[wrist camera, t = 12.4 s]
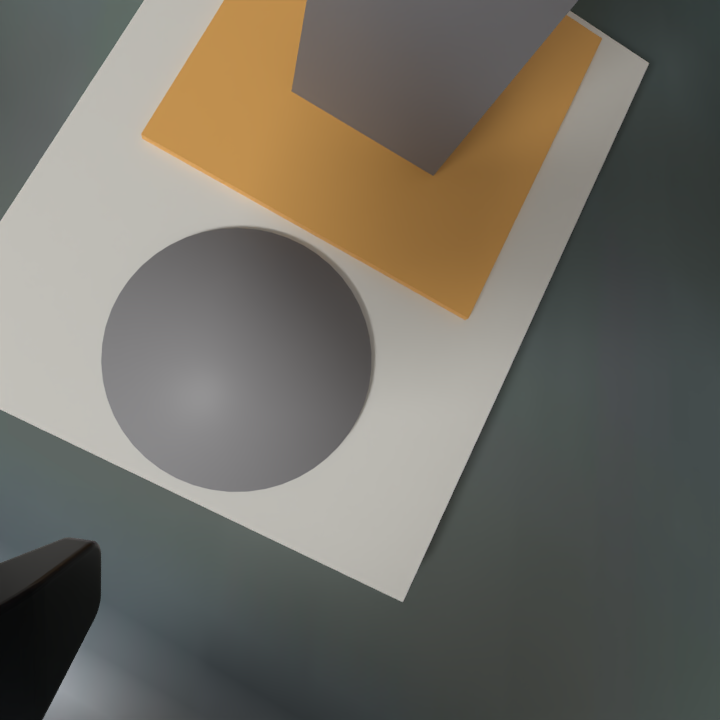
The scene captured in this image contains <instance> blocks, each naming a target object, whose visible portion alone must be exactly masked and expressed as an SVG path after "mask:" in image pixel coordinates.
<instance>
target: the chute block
mask: <svg viewBox="0 0 720 720" xmlns="http://www.w3.org/2000/svg"><path fill="white" fill-rule="evenodd" d="M577 1H578V0H307V2H306V8H305V13H304V19H303V25H302V31H301V37H300V43H299V49H298V55H297V61H296V67H295V73H294V79H293V84H292V90H291V91H292V92H293V93H295V94H297V95H298V96H300V97H302V98H303V99H305V100H307V101H308V102H310V103H312V104H313V105H315V106H317V107H319V108H320V109H322V110H324V111H325V112H327V113H329V114H330V115H332V116H334V117H335V118H337V119H339V120H340V121H342V122H344V123H345V124H347V125H349V126H350V127H352V128H354V129H355V130H357V131H359V132H360V133H362V134H364V135H365V136H367V137H369V138H370V139H372V140H374V141H375V142H377V143H379V144H380V145H382V146H384V147H385V148H387V149H389V150H391V151H392V152H394V153H396V154H397V155H399V156H401V157H402V158H404V159H406V160H407V161H409V162H411V163H412V164H414V165H416V166H417V167H419V168H421V169H422V170H424V171H426V172H427V173H429V174H431V175H432V176H434V175H435V173H436V172H437V171H438V170H439V168H440V167H441V166H442V165H443V164H444V162H445V161H446V160H447V159H448V158H449V156H450V155H451V154H452V153H453V151H454V150H455V149H456V148H457V147H458V145H459V144H460V143H461V142H462V141H463V139H464V138H465V137H466V136H467V135H468V133H469V132H470V131H471V130H472V128H473V127H474V126H475V125H476V124H477V122H478V121H479V120H480V119H481V118H482V116H483V115H484V114H485V113H486V111H487V110H488V109H489V108H490V107H491V105H492V104H493V103H494V102H495V101H496V99H497V98H498V97H499V96H500V95H501V93H502V92H503V91H504V90H505V88H506V87H507V86H508V85H509V84H510V82H511V81H512V80H513V79H514V78H515V76H516V75H517V74H518V73H519V72H520V70H521V69H522V68H523V67H524V65H525V64H526V63H527V62H528V61H529V59H530V58H531V57H532V56H533V55H534V53H535V52H536V51H537V50H538V48H539V47H540V46H541V45H542V44H543V42H544V41H545V40H546V39H547V38H548V36H549V35H550V34H551V33H552V32H553V30H554V29H555V28H556V27H557V25H558V24H559V23H560V22H561V21H562V19H563V18H564V17H565V16H566V15H567V13H568V12H569V11H570V10H571V8H572V7H573V6H574V5H575V4H576V2H577Z"/></svg>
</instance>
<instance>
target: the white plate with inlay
mask: <svg viewBox="0 0 720 720" xmlns="http://www.w3.org/2000/svg"><path fill="white" fill-rule="evenodd" d="M306 2H307V0H144V1H143V3H142V5H141V6H140V8H139V9H138V11H137V12H136V14H135V15H134V17H133V18H132V20H131V21H130V23H129V25H128V26H127V28H126V29H125V31H124V32H123V34H122V35H121V37H120V38H119V40H118V41H117V43H116V45H115V46H114V48H113V49H112V51H111V52H110V54H109V55H108V57H107V58H106V60H105V61H104V63H103V65H102V66H101V68H100V69H99V71H98V72H97V74H96V75H95V77H94V78H93V80H92V81H91V83H90V85H89V86H88V88H87V89H86V91H85V92H84V94H83V95H82V97H81V98H80V100H79V101H78V103H77V105H76V106H75V108H74V109H73V111H72V112H71V114H70V115H69V117H68V118H67V120H66V121H65V123H64V125H63V126H62V128H61V129H60V131H59V132H58V134H57V135H56V137H55V138H54V140H53V141H52V143H51V145H50V146H49V148H48V149H47V151H46V152H45V154H44V155H43V157H42V158H41V160H40V161H39V163H38V165H37V166H36V168H35V169H34V171H33V172H32V174H31V175H30V177H29V178H28V180H27V181H26V183H25V185H24V186H23V188H22V189H21V191H20V192H19V194H18V195H17V197H16V198H15V200H14V201H13V203H12V205H11V206H10V208H9V209H8V211H7V212H6V214H5V215H4V217H3V218H2V220H1V221H0V410H3V411H5V412H7V413H9V414H11V415H13V416H15V417H17V418H19V419H21V420H23V421H26V422H28V423H30V424H32V425H34V426H36V427H38V428H40V429H42V430H44V431H46V432H49V433H51V434H53V435H55V436H57V437H59V438H61V439H63V440H65V441H67V442H69V443H71V444H74V445H76V446H78V447H80V448H82V449H84V450H86V451H88V452H90V453H92V454H94V455H97V456H99V457H101V458H103V459H105V460H107V461H109V462H111V463H113V464H115V465H117V466H119V467H122V468H124V469H126V470H128V471H130V472H132V473H134V474H136V475H138V476H140V477H142V478H145V479H147V480H149V481H151V482H153V483H155V484H157V485H159V486H161V487H163V488H165V489H168V490H170V491H172V492H174V493H176V494H178V495H180V496H182V497H184V498H186V499H188V500H190V501H193V502H195V503H197V504H199V505H201V506H203V507H205V508H207V509H209V510H211V511H213V512H216V513H218V514H220V515H222V516H224V517H226V518H228V519H230V520H232V521H234V522H236V523H238V524H241V525H243V526H245V527H247V528H249V529H251V530H253V531H255V532H257V533H259V534H261V535H264V536H266V537H268V538H270V539H272V540H274V541H276V542H278V543H280V544H282V545H284V546H287V547H289V548H291V549H293V550H295V551H297V552H299V553H301V554H303V555H305V556H307V557H309V558H312V559H314V560H316V561H318V562H320V563H322V564H324V565H326V566H328V567H330V568H332V569H335V570H337V571H339V572H341V573H343V574H345V575H347V576H349V577H351V578H353V579H355V580H358V581H360V582H362V583H364V584H366V585H368V586H370V587H372V588H374V589H376V590H378V591H380V592H383V593H385V594H387V595H389V596H391V597H393V598H395V599H397V600H399V601H401V602H403V601H404V598H405V596H406V594H407V592H408V590H409V587H410V585H411V583H412V581H413V579H414V577H415V574H416V572H417V570H418V568H419V566H420V563H421V561H422V559H423V557H424V555H425V552H426V550H427V548H428V546H429V544H430V542H431V539H432V537H433V535H434V533H435V531H436V528H437V526H438V524H439V522H440V520H441V517H442V515H443V513H444V511H445V509H446V507H447V504H448V502H449V500H450V498H451V496H452V493H453V491H454V489H455V487H456V485H457V482H458V480H459V478H460V476H461V474H462V472H463V469H464V467H465V465H466V463H467V461H468V458H469V456H470V454H471V452H472V450H473V447H474V445H475V443H476V441H477V439H478V437H479V434H480V432H481V430H482V428H483V426H484V423H485V421H486V419H487V417H488V415H489V412H490V410H491V408H492V406H493V404H494V402H495V399H496V397H497V395H498V393H499V391H500V388H501V386H502V384H503V382H504V380H505V377H506V375H507V373H508V371H509V369H510V367H511V364H512V362H513V360H514V358H515V356H516V353H517V351H518V349H519V347H520V345H521V342H522V340H523V338H524V336H525V334H526V332H527V329H528V327H529V325H530V323H531V321H532V318H533V316H534V314H535V312H536V310H537V307H538V305H539V303H540V301H541V299H542V297H543V294H544V292H545V290H546V288H547V286H548V283H549V281H550V279H551V277H552V275H553V272H554V270H555V268H556V266H557V264H558V262H559V259H560V257H561V255H562V253H563V251H564V248H565V246H566V244H567V242H568V240H569V237H570V235H571V233H572V231H573V229H574V227H575V224H576V222H577V220H578V218H579V216H580V213H581V211H582V209H583V207H584V205H585V202H586V200H587V198H588V196H589V194H590V192H591V189H592V187H593V185H594V183H595V181H596V178H597V176H598V174H599V172H600V170H601V167H602V165H603V163H604V161H605V159H606V156H607V154H608V152H609V150H610V148H611V146H612V143H613V141H614V139H615V137H616V135H617V132H618V130H619V128H620V126H621V124H622V121H623V119H624V117H625V115H626V113H627V111H628V108H629V106H630V104H631V102H632V100H633V97H634V95H635V93H636V91H637V89H638V86H639V84H640V82H641V80H642V78H643V76H644V73H645V71H646V69H647V67H648V65H649V63H648V62H647V61H645V60H644V59H642V58H641V57H639V56H638V55H636V54H634V53H633V52H631V51H630V50H628V49H627V48H625V47H624V46H622V45H621V44H619V43H618V42H616V41H615V40H613V39H612V38H610V37H609V36H607V35H606V34H604V33H603V32H601V31H600V30H598V29H597V28H595V27H594V26H592V25H591V24H589V23H588V22H586V21H585V20H583V19H582V18H580V17H579V16H577V15H576V14H574V13H573V12H571V11H569V12H568V13H567V15H566V16H565V17H564V18H563V19H562V21H561V22H560V23H559V24H558V25H557V27H556V28H555V29H554V30H553V32H552V33H551V34H550V35H549V36H548V38H547V39H546V40H545V41H544V42H543V44H542V45H541V46H540V47H539V48H538V50H537V51H536V52H535V53H534V55H533V56H532V57H531V58H530V59H529V61H528V62H527V63H526V64H525V65H524V67H523V68H522V69H521V70H520V72H519V73H518V74H517V75H516V76H515V78H514V79H513V80H512V81H511V82H510V84H509V85H508V86H507V87H506V88H505V90H504V91H503V92H502V93H501V95H500V96H499V97H498V98H497V99H496V101H495V102H494V103H493V104H492V105H491V107H490V108H489V109H488V110H487V111H486V113H485V114H484V115H483V116H482V118H481V119H480V120H479V121H478V122H477V124H476V125H475V126H474V127H473V128H472V130H471V131H470V132H469V133H468V135H467V136H466V137H465V138H464V139H463V141H462V142H461V143H460V144H459V145H458V147H457V148H456V149H455V150H454V151H453V153H452V154H451V155H450V156H449V158H448V159H447V160H446V161H445V162H444V164H443V165H442V166H441V167H440V168H439V170H438V171H437V172H436V173H435V175H434V176H432V175H431V174H429V173H427V172H426V171H424V170H422V169H421V168H419V167H417V166H416V165H414V164H412V163H411V162H409V161H407V160H406V159H404V158H402V157H401V156H399V155H397V154H396V153H394V152H392V151H391V150H389V149H387V148H385V147H384V146H382V145H380V144H379V143H377V142H375V141H374V140H372V139H370V138H369V137H367V136H365V135H364V134H362V133H360V132H359V131H357V130H355V129H354V128H352V127H350V126H349V125H347V124H345V123H344V122H342V121H340V120H339V119H337V118H335V117H334V116H332V115H330V114H329V113H327V112H325V111H324V110H322V109H320V108H319V107H317V106H315V105H313V104H312V103H310V102H308V101H307V100H305V99H303V98H302V97H300V96H298V95H297V94H295V93H293V92H292V91H291V90H292V84H293V79H294V73H295V67H296V61H297V55H298V49H299V43H300V37H301V31H302V25H303V19H304V13H305V8H306Z"/></svg>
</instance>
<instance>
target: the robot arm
mask: <svg viewBox="0 0 720 720" xmlns="http://www.w3.org/2000/svg"><path fill="white" fill-rule="evenodd" d="M100 599H101V550H100V546H99V545H98V544H97V543H96V542H95V541H91V540H84V539H77V538H63V539H61V540H58V541H56V542H53V543H50V544H48V545H45V546H43V547H40V548H38V549H35V550H33V551H30V552H27V553H25V554H22V555H20V556H17V557H15V558H12V559H10V560H7V561H4V562H2V563H0V720H42V719H43V718H44V716H45V714H46V712H47V710H48V708H49V706H50V704H51V702H52V700H53V698H54V696H55V695H56V693H57V691H58V689H59V687H60V685H61V683H62V681H63V679H64V677H65V675H66V673H67V671H68V669H69V667H70V665H71V663H72V661H73V659H74V658H75V656H76V654H77V652H78V650H79V648H80V646H81V644H82V642H83V640H84V638H85V636H86V634H87V632H88V630H89V628H90V626H91V624H92V622H93V621H94V619H95V616H96V614H97V611H98V608H99V605H100Z"/></svg>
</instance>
